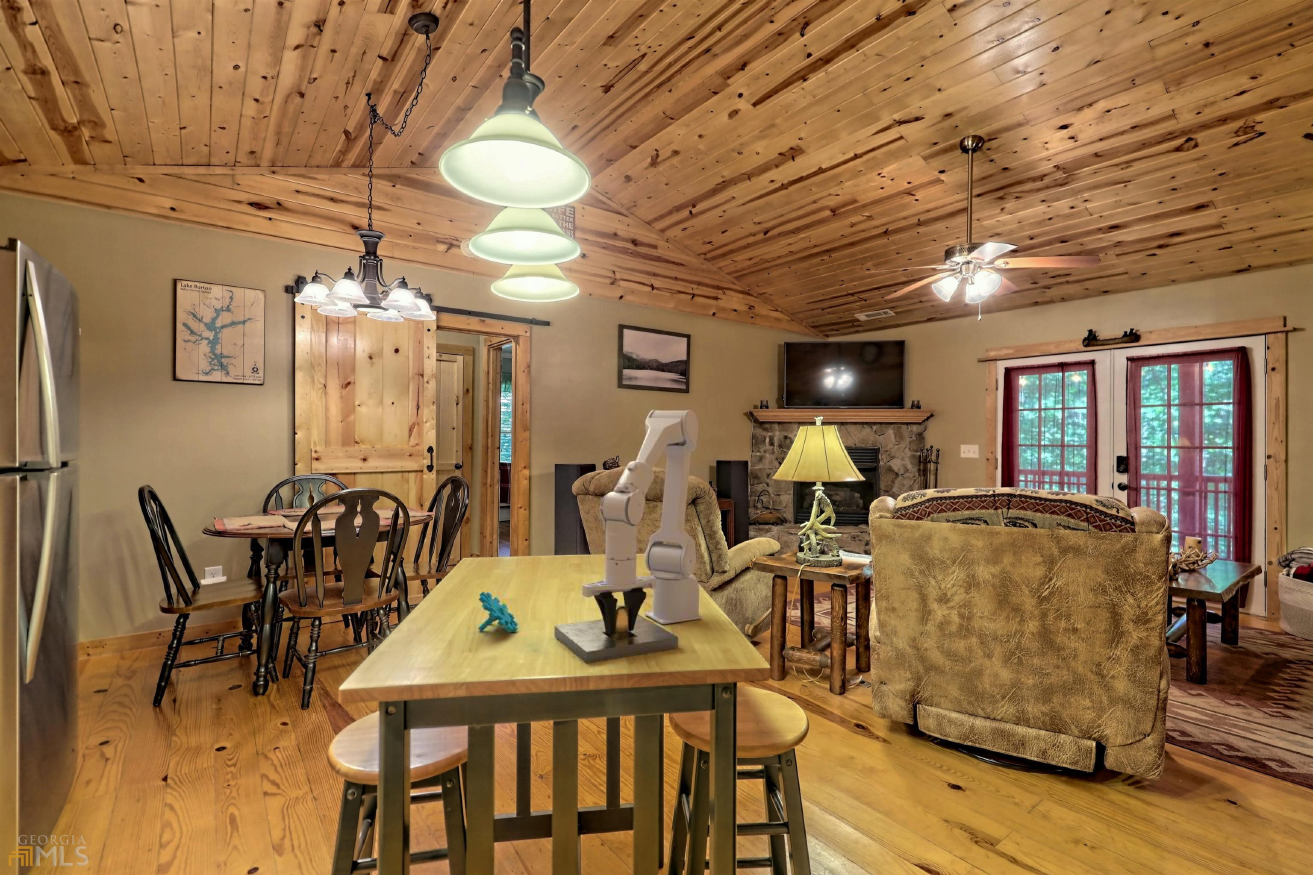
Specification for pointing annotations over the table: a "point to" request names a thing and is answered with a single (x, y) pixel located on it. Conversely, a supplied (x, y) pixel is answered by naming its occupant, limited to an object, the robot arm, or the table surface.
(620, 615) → the bushing
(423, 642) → the table surface
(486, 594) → the gear
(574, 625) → the plate
